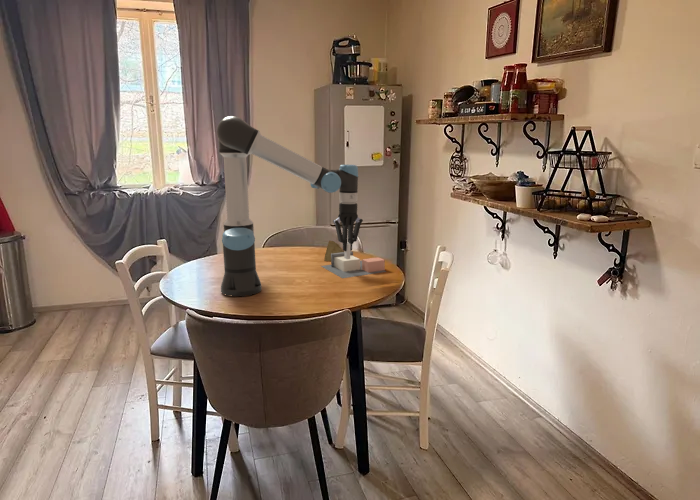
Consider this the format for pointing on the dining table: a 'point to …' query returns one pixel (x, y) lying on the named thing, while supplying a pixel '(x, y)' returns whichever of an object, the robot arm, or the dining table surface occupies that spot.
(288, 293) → the dining table surface
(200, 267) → the dining table surface
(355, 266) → the clamped cream block
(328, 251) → the rock
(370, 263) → the stub
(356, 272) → the mat
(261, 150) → the robot arm
